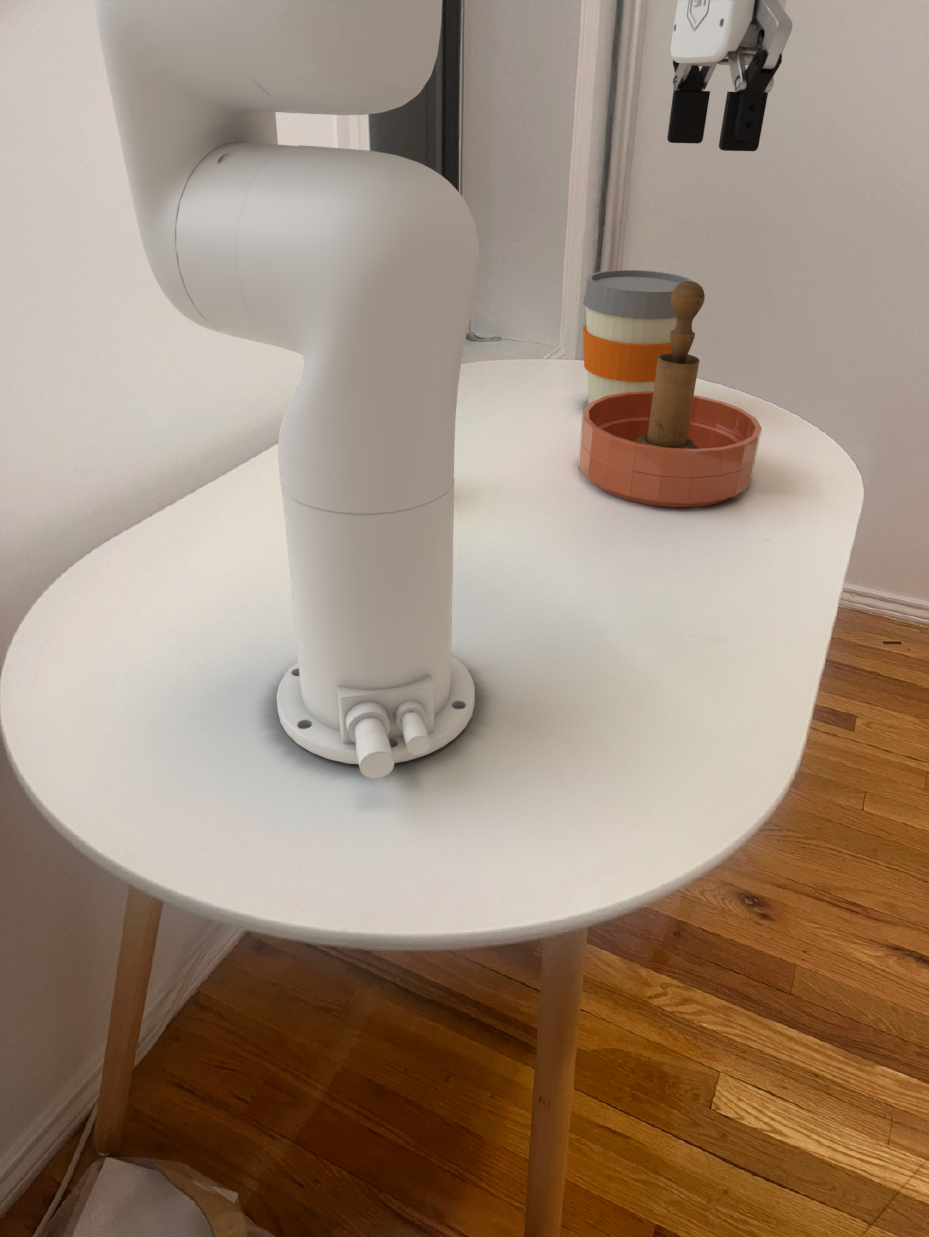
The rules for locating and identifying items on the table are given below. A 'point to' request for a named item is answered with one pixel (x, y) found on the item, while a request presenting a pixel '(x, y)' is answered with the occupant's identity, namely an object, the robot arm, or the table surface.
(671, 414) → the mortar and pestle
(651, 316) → the reusable coffee cup
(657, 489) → the bowl
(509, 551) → the table surface
